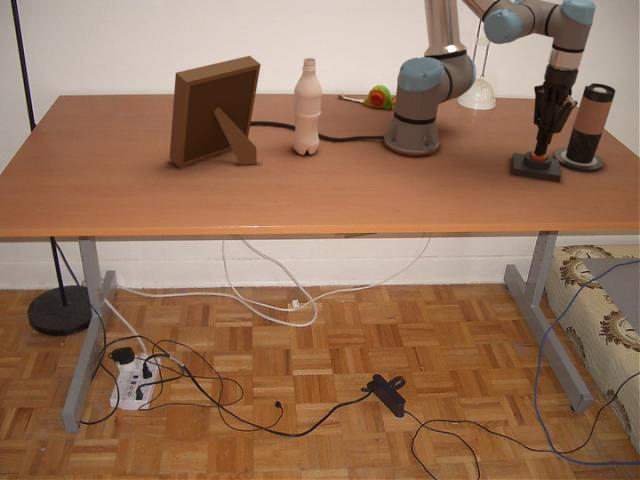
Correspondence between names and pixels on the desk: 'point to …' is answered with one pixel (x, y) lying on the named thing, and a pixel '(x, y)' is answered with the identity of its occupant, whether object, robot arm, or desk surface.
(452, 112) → the desk surface
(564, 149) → the plate
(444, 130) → the desk surface
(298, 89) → the water bottle
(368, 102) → the toy measuring tape
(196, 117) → the photo frame
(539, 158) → the button
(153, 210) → the desk surface
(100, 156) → the desk surface
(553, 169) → the switch
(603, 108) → the travel mug
